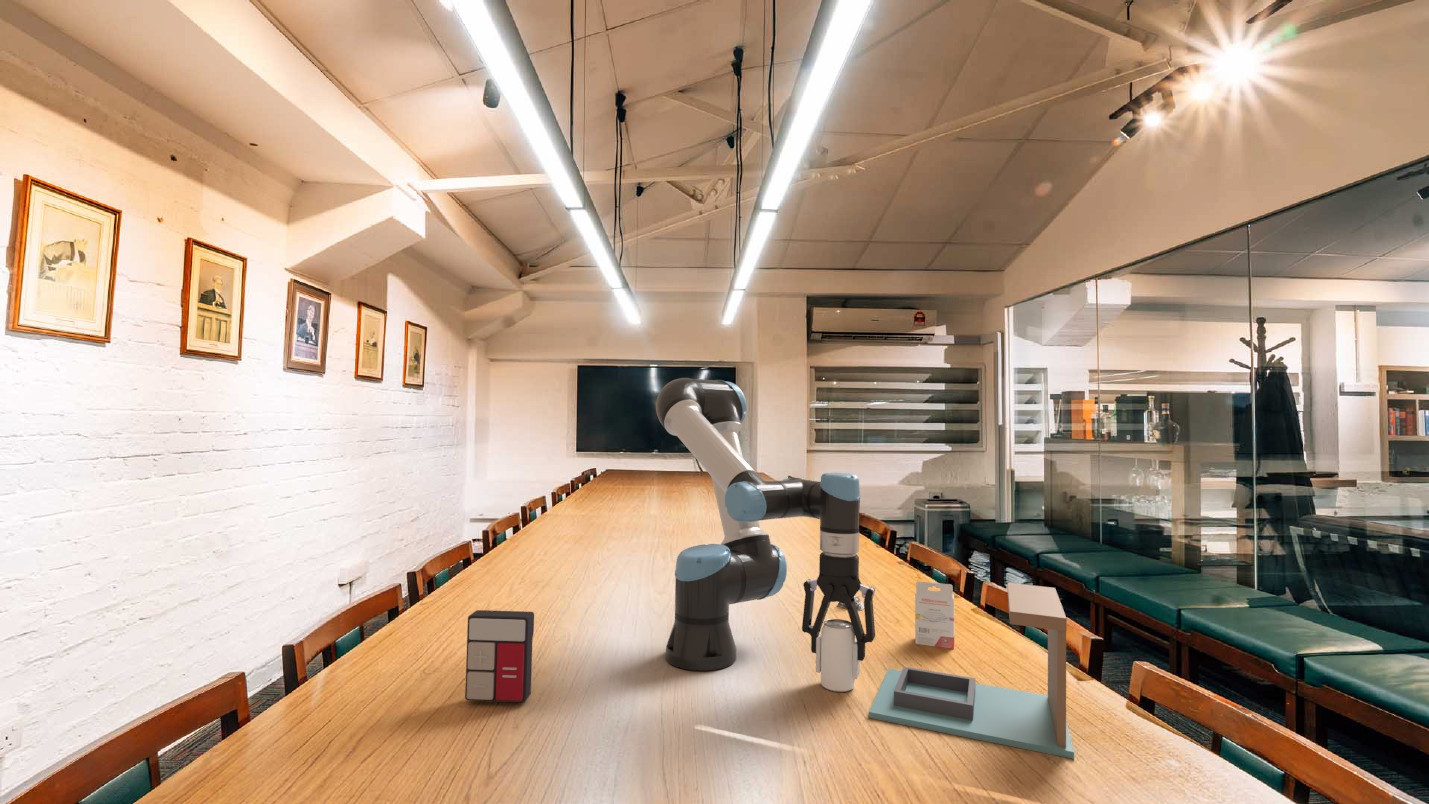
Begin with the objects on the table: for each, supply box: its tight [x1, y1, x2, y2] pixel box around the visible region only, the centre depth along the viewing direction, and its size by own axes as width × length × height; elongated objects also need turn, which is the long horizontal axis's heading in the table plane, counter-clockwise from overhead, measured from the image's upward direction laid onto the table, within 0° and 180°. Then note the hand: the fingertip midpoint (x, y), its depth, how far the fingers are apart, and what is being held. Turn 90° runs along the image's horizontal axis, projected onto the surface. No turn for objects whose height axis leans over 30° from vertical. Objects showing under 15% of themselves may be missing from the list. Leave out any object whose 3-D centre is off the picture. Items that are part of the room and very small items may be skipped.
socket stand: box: [868, 582, 1075, 760], centre depth 115 cm, size 31×22×21 cm
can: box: [820, 618, 856, 693], centre depth 124 cm, size 6×6×12 cm
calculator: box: [464, 609, 535, 703], centre depth 116 cm, size 11×4×15 cm, turn 88°
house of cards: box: [836, 594, 864, 612], centre depth 178 cm, size 9×9×8 cm
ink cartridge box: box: [914, 580, 955, 650], centre depth 149 cm, size 9×5×15 cm, turn 68°
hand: (837, 673), depth 124 cm, fingers closed on can, 6 cm apart
